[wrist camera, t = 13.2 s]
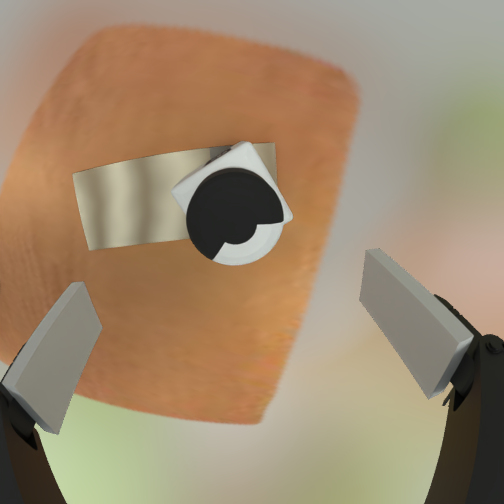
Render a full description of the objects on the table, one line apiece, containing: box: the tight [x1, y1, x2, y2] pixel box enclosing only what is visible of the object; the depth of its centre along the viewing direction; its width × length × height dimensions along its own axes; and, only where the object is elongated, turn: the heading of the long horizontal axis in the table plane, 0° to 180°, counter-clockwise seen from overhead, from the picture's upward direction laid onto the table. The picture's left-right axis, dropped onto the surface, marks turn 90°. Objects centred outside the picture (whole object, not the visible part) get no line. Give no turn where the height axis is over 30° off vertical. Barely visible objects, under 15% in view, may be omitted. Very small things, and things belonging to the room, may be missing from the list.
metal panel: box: [72, 143, 277, 251], centre depth 29 cm, size 24×10×1 cm, turn 94°
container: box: [171, 141, 293, 265], centre depth 23 cm, size 8×8×13 cm
